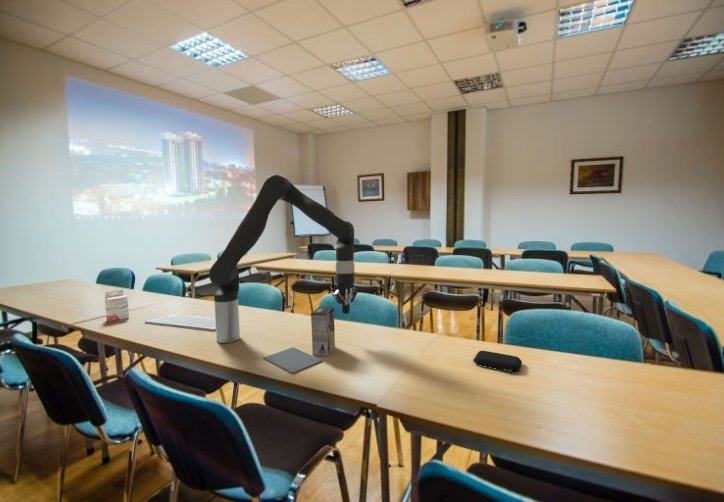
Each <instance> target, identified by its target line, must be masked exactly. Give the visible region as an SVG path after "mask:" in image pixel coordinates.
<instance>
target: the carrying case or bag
mask: <svg viewBox="0 0 724 502" xmlns="http://www.w3.org/2000/svg"><path fill="white" fill-rule="evenodd" d="M473 363H474V364H475V363H476V364H478V365H481V366H480V367H482V366H486V367H485V368H487V367H491V368H490V369H492V368H496V369H495V370H497V369H500V370H499V371H502V370H503V371H502V372H507V371H510V372H509V373H512V372H517V371H518V372H519V371H520V370H521V368H522V364H523V362H522V359H520V357H518V356H516V355H511V354H505V353H499V352H494V351H487V350H479V351H478V352H477V353H476V355H475V356H474V358H473ZM476 364H475V365H476ZM478 365H477V366H478ZM518 372H517V373H518Z"/></svg>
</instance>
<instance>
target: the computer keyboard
mask: <svg viewBox="0 0 724 502" xmlns="http://www.w3.org/2000/svg"><path fill="white" fill-rule="evenodd" d="M189 315H191V314H185V315H182V313H175V314H174V313H171V314H167V315H163V316H159V317H156V318H152V319H148V320H144V324H148V325H156V326H157V325H158V326H166V327H173V328H181V329H182V328H183V329H189V330H190V329H191V330H197V331H198V330H200V331H208V332H216V321H215V317H214V318H210V317H211V316H204V317H203V315H195V316H192V315H193V314H192V315H191V316H189Z"/></svg>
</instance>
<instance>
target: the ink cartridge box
mask: <svg viewBox="0 0 724 502" xmlns="http://www.w3.org/2000/svg"><path fill="white" fill-rule="evenodd" d="M104 295H105V296H104V305H105V315H106V316H105V317H106V322H107V321H108V322H109V323H110V322H111V323H112V322H115V321H116V320H117V321H122V320H126V319H129V318H130V316H129V314H130V313H129V302H128V300H129V299H128V295H124V289H118V290H117V289H116V290H112V291H105V292H104ZM125 318H126V319H125ZM121 319H122V320H121Z"/></svg>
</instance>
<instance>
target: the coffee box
mask: <svg viewBox="0 0 724 502" xmlns="http://www.w3.org/2000/svg"><path fill="white" fill-rule="evenodd" d="M310 320H311V344H312V345H311V347H312V356H324V357H328V356H330V354H331V353H332V352H333V350H334V348H335V347H336V342H335V341H336V338H335V335H336V334H335V333H336V332H335V331H336V330H335V307H327V306H325V307H323V306H320V307H318V308H316V309H315V310H314V311H313V312H311V314H310Z"/></svg>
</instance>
